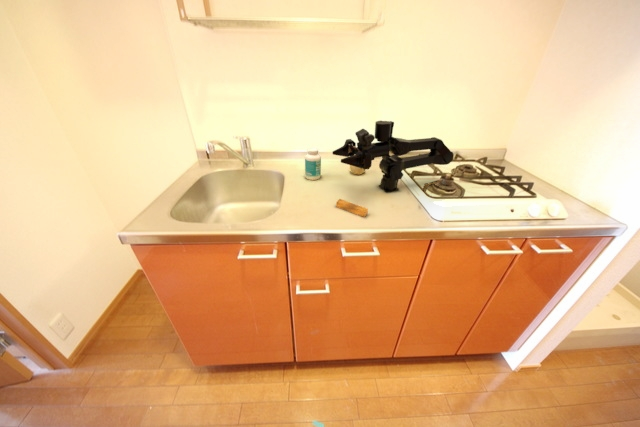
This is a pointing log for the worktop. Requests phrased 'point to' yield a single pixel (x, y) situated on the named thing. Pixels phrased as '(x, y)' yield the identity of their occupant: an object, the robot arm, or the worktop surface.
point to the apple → (356, 170)
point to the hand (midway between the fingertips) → (336, 156)
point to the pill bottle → (312, 164)
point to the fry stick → (352, 207)
